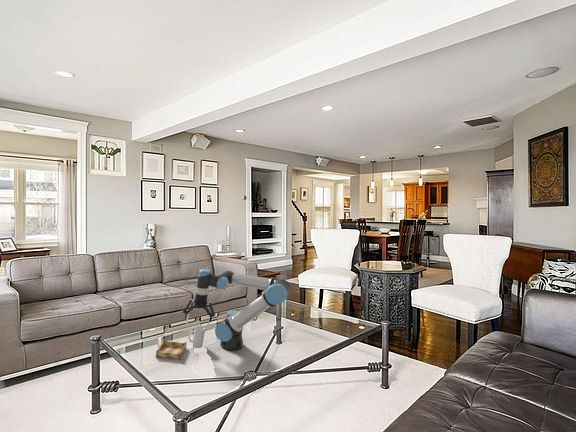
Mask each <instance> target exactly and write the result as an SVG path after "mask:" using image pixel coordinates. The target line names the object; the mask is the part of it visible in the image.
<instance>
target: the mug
mask: <svg viewBox="0 0 576 432" xmlns="http://www.w3.org/2000/svg"><path fill="white" fill-rule="evenodd" d="M205 332H206V327H204V326H201V325H198V326H195V327H194V329H191V330H190V331H189V333H188V336H187V337H188V341H189V343H192V347H193V348H194V349H200V348H201V349H202V347H203V344H204V340H205ZM191 334H193V339H192V338H191Z"/></svg>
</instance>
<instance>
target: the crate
mask: <svg viewBox="0 0 576 432" xmlns="http://www.w3.org/2000/svg"><path fill="white" fill-rule="evenodd" d="M187 343H188V342H186V341H185V342H180V341H171V340H166V339H163V341H162V343H161V344H160V345H159V347H158V348H157V350H156V353H155V358H160V359H169V360H178V361H181V359H182V357H183V355H184V354H185V351H186V349H187Z"/></svg>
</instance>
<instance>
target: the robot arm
mask: <svg viewBox="0 0 576 432" xmlns="http://www.w3.org/2000/svg"><path fill="white" fill-rule="evenodd" d="M229 285H236V286H240V287H241V286H242V287H245V288H246V287H247V288H253V289H259V290H263V291H262V292H261V295H260V296H258V297H257V298H256V299H255V300H253V301H252V302H250V303H249V304H248V305H246V306H245V307H244V308H242V309H241V310H240V311H238V310H229V311H227V313H226V317H225V318H224V319H223V320H221V321H220V322H219V323H218V324H217V325H216V326H215V329H214V334H215V336H216V339H218V340H219V341H220V342H219V344H220V347H221V348H222V349H224V350H227V351H233V352H234V351H239V350H241V349H242V348H243V346H244V341H243V340H244V339H243V330H244V326H245V325H247V324H249V323H250V322H251V321H252V320H255V318H257V317H258V316H259V315H261V314H262V313H264V312H265V311H266V310H268V309H269V308H275V307H276V306H278V305H280V304H282V303H283V302H284V301H285V300H286V299H287V298H288V296H289V295H290V293H291V289H292V287H291V284H290V282H289V281H287V279H284V278H279V277H271V278H268V277H262V276H256V275H248V274H243V273H237V272H234V271H232V270H226V271H224V272H222V273H220V274H218V275H217V274H213V273H212V271H211V269H207V268H201V269H200V270H199V271H198V276H197V284H196V290H195V298H194V299H193V298H190V299H189V302H188V304H187V305H186V306H185V308H184V309H183V310H182V313H183V314H184V315H185V317H184V319H186V321H185V325H188V323H189V317H190V313H191V312H192V311H193V310H194V309H195V308H200V309H204V311H205V312H206V313H207V315H208V320H207V325H206V327H207V328H209V327H210V323H211V322H212V319H213V317H215V316H216V314H215V310H214V308H213V305H212V303H213V302H212V301H211V300H210V301H208V298H209V297H208V296H209V289H210V287H211V288H216V289H219V290H226V289H227V288H228V286H229ZM193 303H194V305H192V306H191V304H193ZM190 306H191V307H190ZM189 307H190V308H189Z"/></svg>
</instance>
